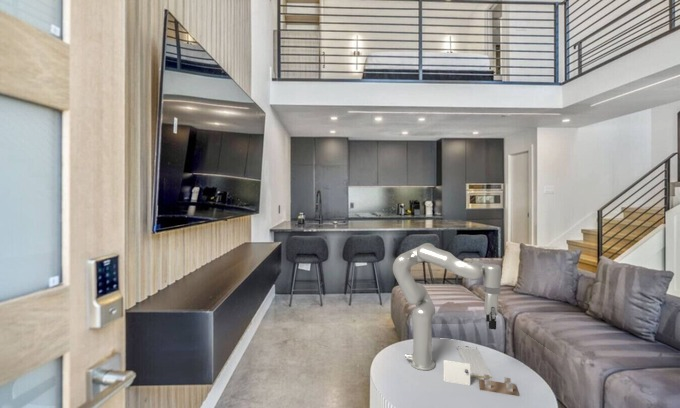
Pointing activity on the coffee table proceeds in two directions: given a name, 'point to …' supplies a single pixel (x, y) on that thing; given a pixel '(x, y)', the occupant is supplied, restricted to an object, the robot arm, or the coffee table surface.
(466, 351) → the baseboard molding
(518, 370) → the coffee table surface
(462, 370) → the cabinet door
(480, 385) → the hinge mount
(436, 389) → the coffee table surface
